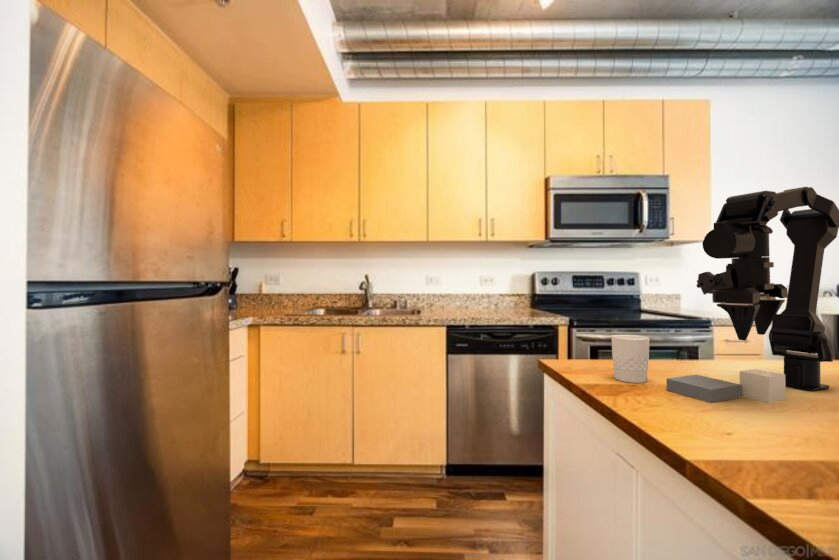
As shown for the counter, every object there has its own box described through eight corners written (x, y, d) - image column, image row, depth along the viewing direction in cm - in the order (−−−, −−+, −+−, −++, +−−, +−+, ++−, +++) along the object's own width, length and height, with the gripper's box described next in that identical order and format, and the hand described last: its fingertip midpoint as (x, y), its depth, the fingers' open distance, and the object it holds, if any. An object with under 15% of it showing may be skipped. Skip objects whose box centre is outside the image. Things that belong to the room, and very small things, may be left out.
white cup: (655, 384, 88) (655, 339, 88) (617, 383, 89) (616, 339, 89) (642, 376, 95) (642, 334, 95) (607, 374, 97) (607, 334, 97)
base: (696, 385, 86) (696, 374, 86) (742, 397, 78) (742, 384, 78) (666, 390, 83) (666, 378, 83) (710, 402, 75) (710, 389, 75)
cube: (755, 393, 81) (755, 369, 81) (785, 400, 76) (785, 374, 76) (739, 396, 79) (739, 371, 79) (769, 403, 74) (768, 376, 74)
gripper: (722, 259, 89) (724, 328, 89) (681, 260, 79) (683, 338, 79) (787, 256, 79) (789, 333, 80) (750, 257, 70) (752, 345, 70)
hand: (752, 337), depth 77 cm, fingers open, 9 cm apart
